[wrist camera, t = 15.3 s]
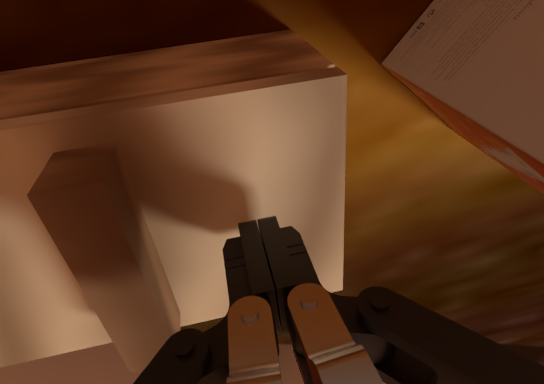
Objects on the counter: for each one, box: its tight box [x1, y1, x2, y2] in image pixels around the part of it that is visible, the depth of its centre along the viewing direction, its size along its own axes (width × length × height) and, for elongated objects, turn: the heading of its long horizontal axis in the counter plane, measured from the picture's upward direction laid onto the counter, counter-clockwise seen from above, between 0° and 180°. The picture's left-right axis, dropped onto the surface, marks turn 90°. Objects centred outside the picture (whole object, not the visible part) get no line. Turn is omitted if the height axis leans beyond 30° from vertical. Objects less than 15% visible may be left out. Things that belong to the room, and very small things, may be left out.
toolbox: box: [0, 29, 334, 120], centre depth 19 cm, size 18×11×7 cm, turn 95°
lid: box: [0, 67, 347, 373], centre depth 14 cm, size 18×11×4 cm, turn 95°
